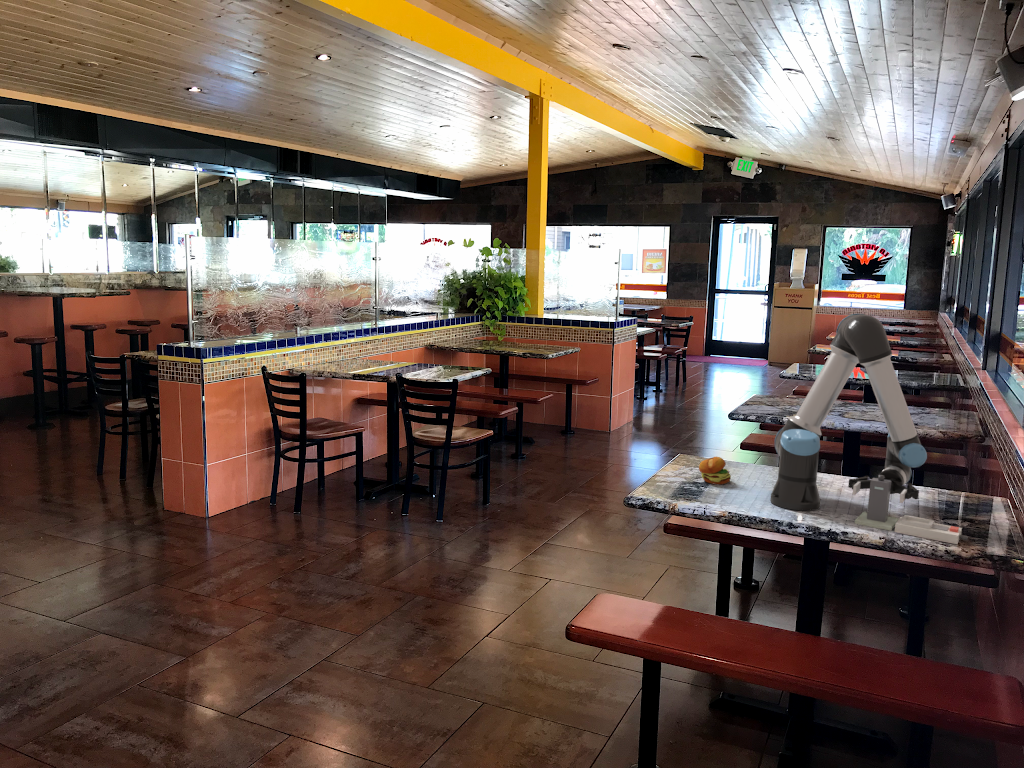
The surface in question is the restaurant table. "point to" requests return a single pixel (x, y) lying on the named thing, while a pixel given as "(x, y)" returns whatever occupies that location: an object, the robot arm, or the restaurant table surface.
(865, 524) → the mat
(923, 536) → the power strip
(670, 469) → the restaurant table surface
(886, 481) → the block
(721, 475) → the cheeseburger
